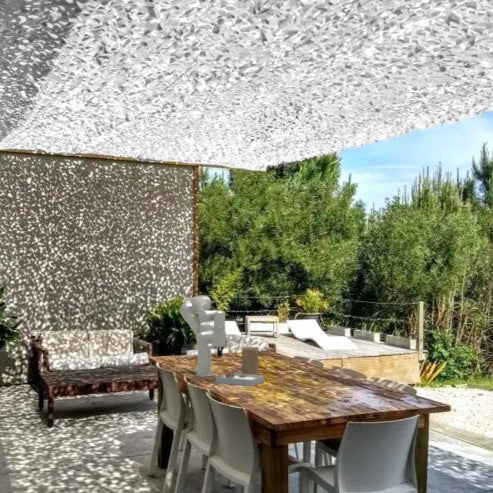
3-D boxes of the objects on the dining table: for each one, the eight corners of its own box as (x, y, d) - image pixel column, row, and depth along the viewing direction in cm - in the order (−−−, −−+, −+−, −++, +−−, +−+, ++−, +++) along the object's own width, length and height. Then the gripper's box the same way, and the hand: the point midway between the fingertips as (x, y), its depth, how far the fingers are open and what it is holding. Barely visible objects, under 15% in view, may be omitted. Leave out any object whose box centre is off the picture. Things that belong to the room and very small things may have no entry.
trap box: (215, 382, 419) (215, 376, 419) (228, 378, 435) (228, 372, 435) (252, 386, 407) (252, 380, 407) (263, 381, 423) (263, 375, 423)
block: (255, 377, 437) (255, 348, 438) (241, 377, 439) (241, 348, 440) (258, 375, 447) (258, 346, 448) (244, 374, 449) (244, 346, 450)
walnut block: (225, 377, 423) (225, 373, 424) (228, 376, 428) (228, 372, 428) (231, 378, 421) (231, 373, 422) (234, 377, 426) (234, 372, 426)
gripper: (207, 329, 429) (207, 356, 428) (226, 330, 422) (226, 358, 421) (212, 328, 435) (212, 355, 435) (231, 329, 429) (232, 356, 428)
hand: (219, 356), depth 428 cm, fingers closed
